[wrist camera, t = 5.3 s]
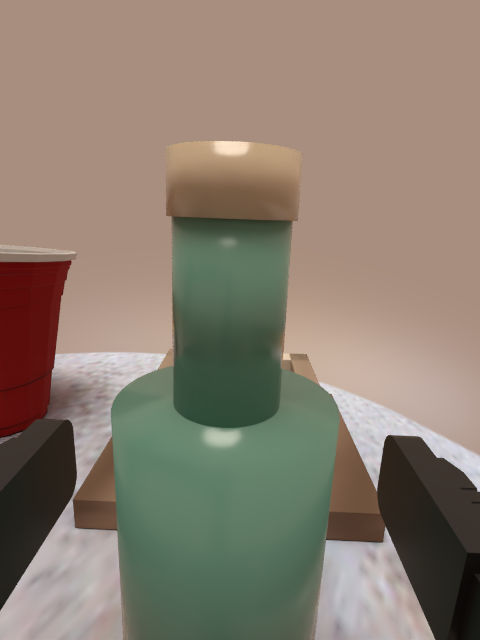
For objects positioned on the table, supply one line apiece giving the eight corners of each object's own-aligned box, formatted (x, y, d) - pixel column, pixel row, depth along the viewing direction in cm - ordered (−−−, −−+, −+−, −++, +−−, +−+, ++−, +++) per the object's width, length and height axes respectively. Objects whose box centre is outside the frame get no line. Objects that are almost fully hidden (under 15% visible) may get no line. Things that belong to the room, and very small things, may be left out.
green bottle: (101, 837, 9) (37, 118, 5) (152, 621, 14) (140, 165, 10) (317, 849, 9) (420, 131, 5) (292, 627, 14) (336, 172, 10)
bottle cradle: (75, 527, 18) (66, 430, 16) (143, 404, 29) (141, 341, 28) (382, 541, 18) (398, 444, 16) (329, 412, 29) (336, 349, 28)
